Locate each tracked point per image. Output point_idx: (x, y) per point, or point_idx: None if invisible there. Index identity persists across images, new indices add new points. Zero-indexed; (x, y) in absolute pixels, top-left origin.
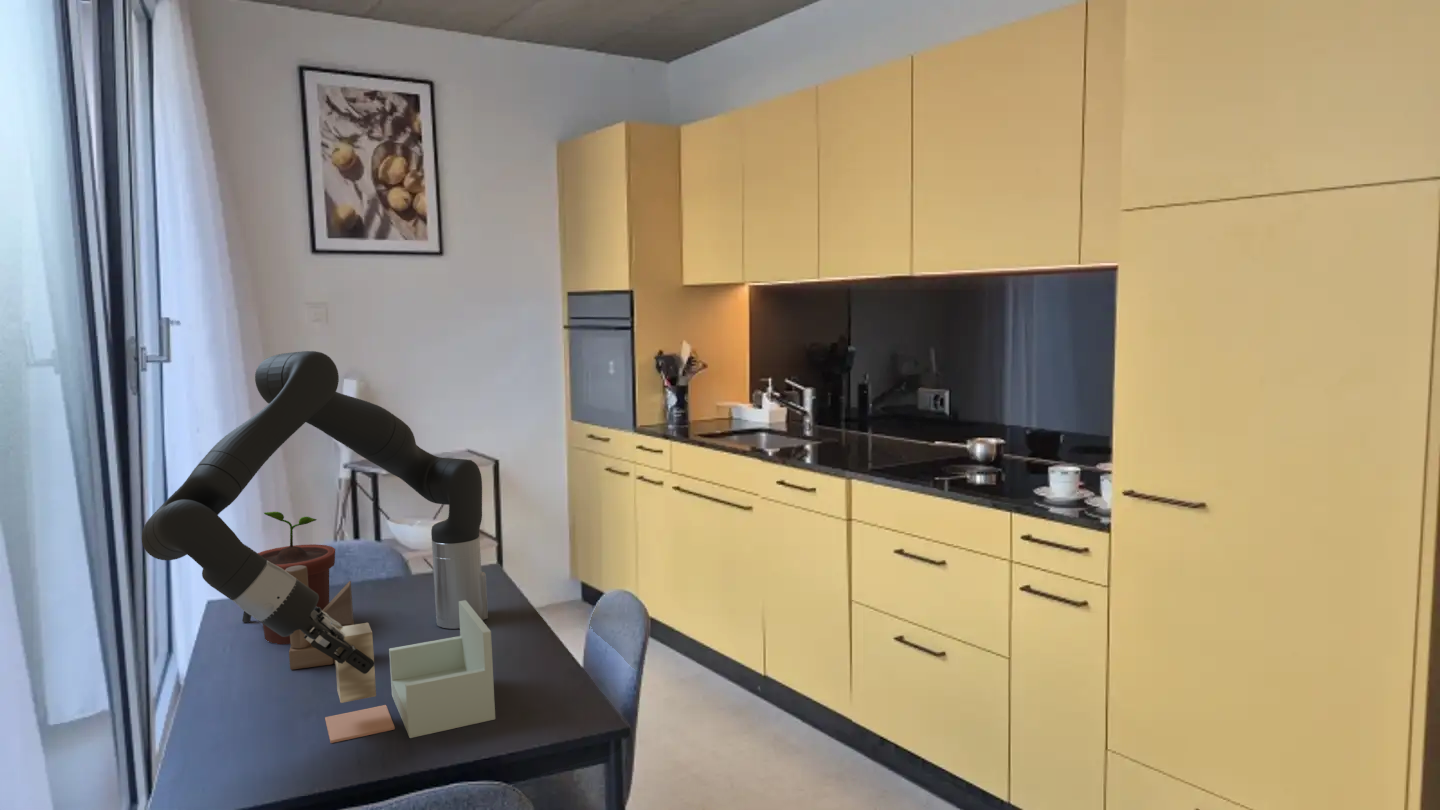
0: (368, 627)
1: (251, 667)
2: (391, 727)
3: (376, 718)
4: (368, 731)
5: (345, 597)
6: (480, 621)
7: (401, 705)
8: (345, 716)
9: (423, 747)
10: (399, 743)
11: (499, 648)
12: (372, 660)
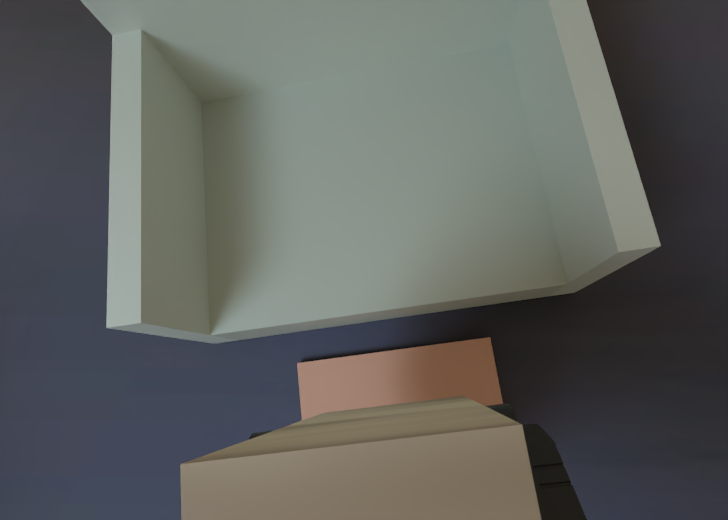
0: (345, 462)
1: None
2: (491, 347)
3: (399, 395)
4: None
5: None
6: None
7: (431, 305)
8: None
9: (655, 253)
10: (602, 324)
11: (18, 40)
12: (507, 415)
